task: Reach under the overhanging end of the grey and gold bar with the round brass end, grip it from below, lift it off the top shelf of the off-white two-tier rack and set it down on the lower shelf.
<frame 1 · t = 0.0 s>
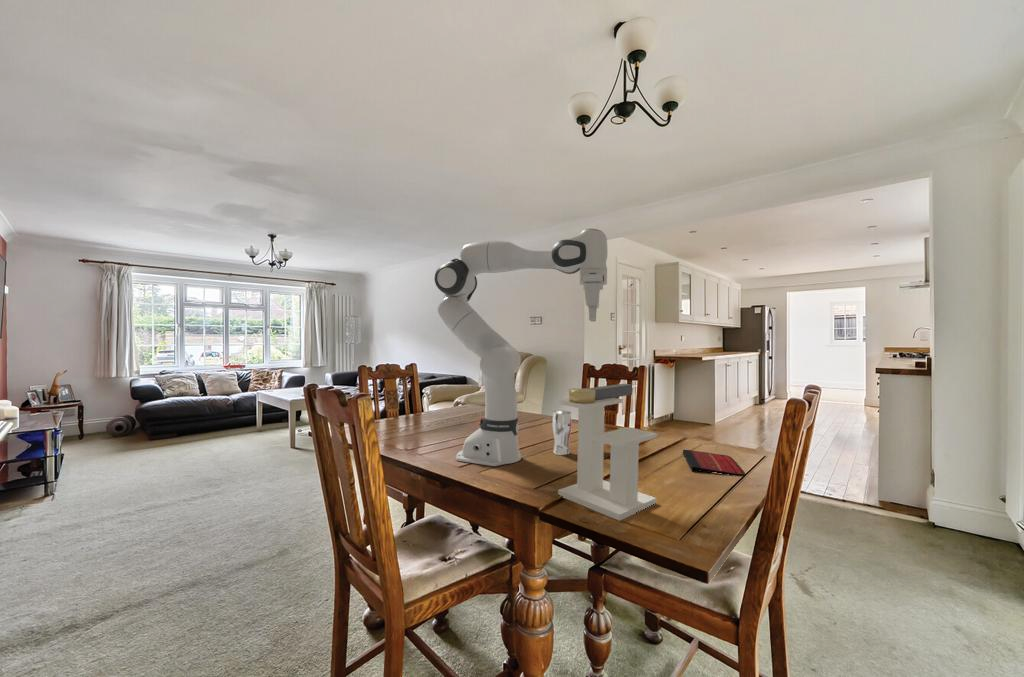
hand: (592, 321, 143), 48 cm above the table, tool pointing down, fingers open, 8 cm apart
rack: (606, 499, 116), on the table
grey and gold bar: (591, 399, 120), point 26 cm above the table, touching rack
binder: (711, 466, 148), on the table
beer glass: (561, 453, 159), on the table
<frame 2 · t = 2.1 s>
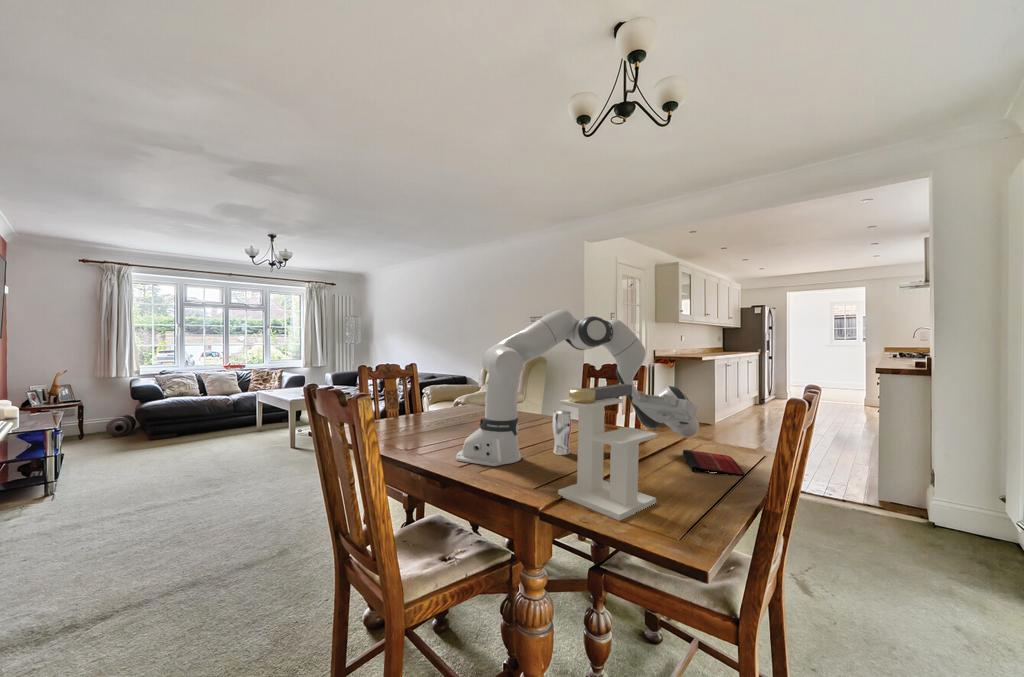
hand: (651, 394, 139), 25 cm above the table, tool pointing upward, fingers open, 8 cm apart
nothing on the table moved.
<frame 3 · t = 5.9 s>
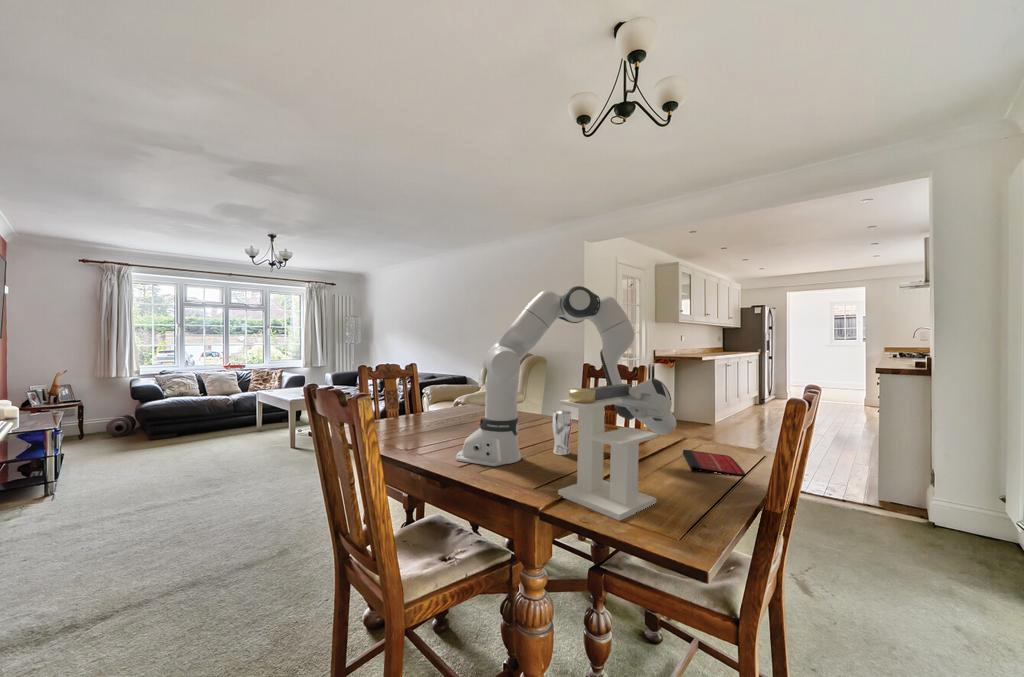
hand: (622, 388, 129), 28 cm above the table, tool pointing upward, fingers closed on grey and gold bar, 3 cm apart
grey and gold bar: (591, 399, 120), point 26 cm above the table, touching gripper, rack
everything else where it was.
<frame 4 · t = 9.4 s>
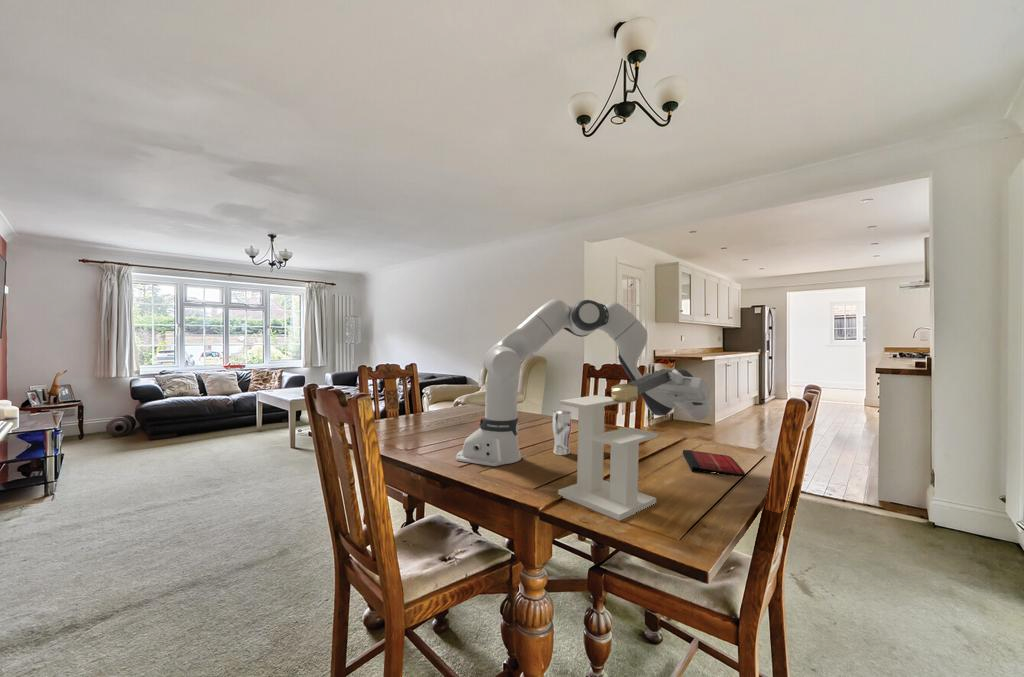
hand: (662, 373, 130), 32 cm above the table, tool pointing upward, fingers closed on grey and gold bar, 3 cm apart
grey and gold bar: (633, 394, 122), point 27 cm above the table, tilted 11°, touching gripper
everything else where it was.
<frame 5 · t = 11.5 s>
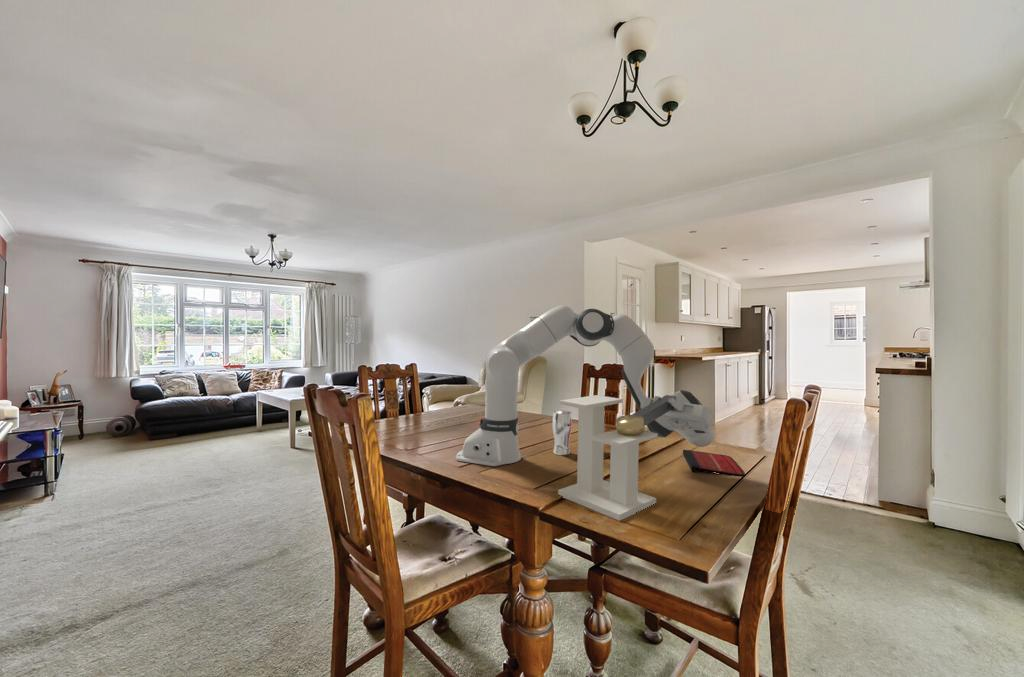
hand: (663, 399, 123), 26 cm above the table, tool pointing upward, fingers closed on grey and gold bar, 3 cm apart
grey and gold bar: (639, 425, 116), point 20 cm above the table, tilted 12°, touching gripper
everything else where it was.
when the fingers open (22 cm above the table, at t = 12.9 s): grey and gold bar stays where it is, resting on rack.
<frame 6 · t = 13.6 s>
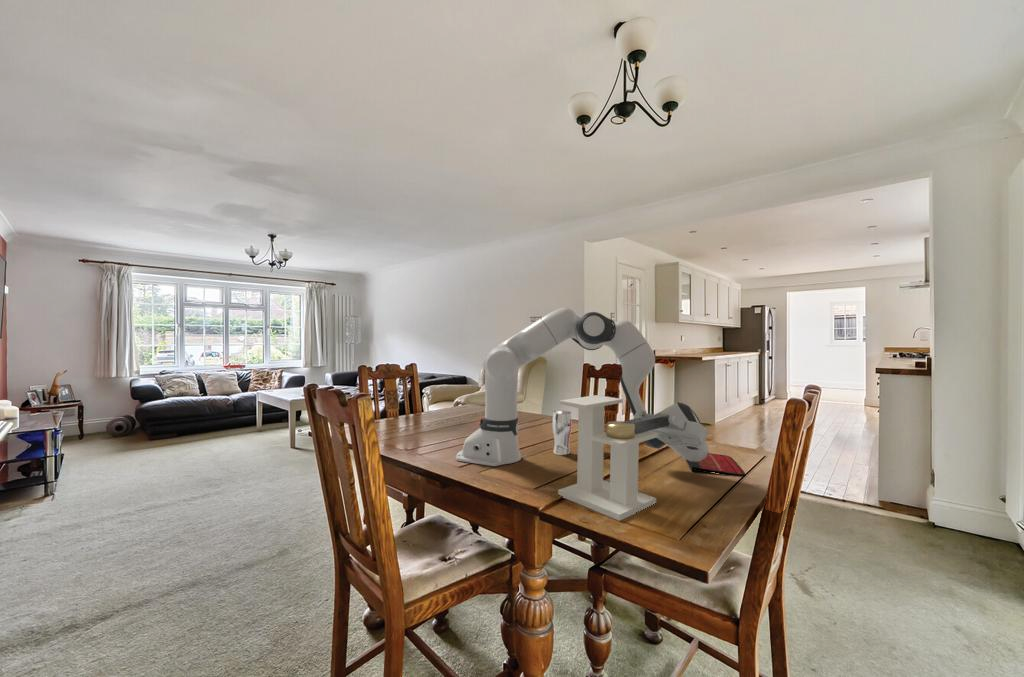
hand: (655, 415, 121), 22 cm above the table, tool pointing upward, fingers open, 8 cm apart
grey and gold bar: (629, 433, 113), point 18 cm above the table, touching rack
everything else where it was.
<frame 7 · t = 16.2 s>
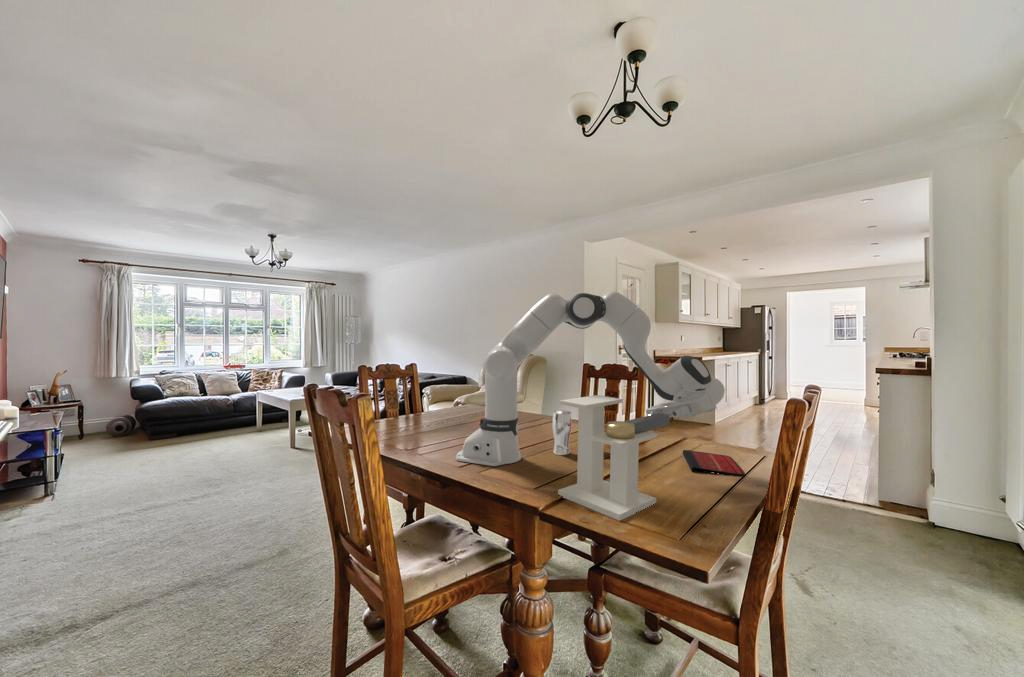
hand: (661, 415, 127), 20 cm above the table, tool horizontal, fingers open, 8 cm apart
nothing on the table moved.
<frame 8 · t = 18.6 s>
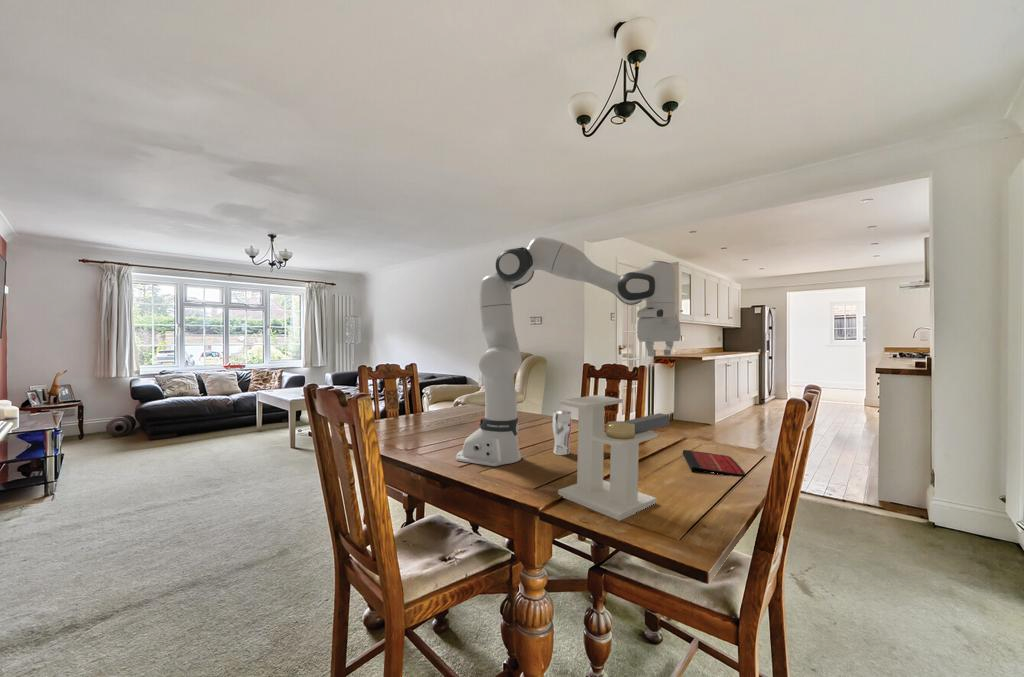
hand: (659, 355, 139), 37 cm above the table, tool pointing down, fingers open, 8 cm apart
nothing on the table moved.
at the end: grey and gold bar inside the target area on the rack (2.1 cm from its centre), point 18.5 cm above the rack's base; the gripper is holding nothing; grey and gold bar tilted 0° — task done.
